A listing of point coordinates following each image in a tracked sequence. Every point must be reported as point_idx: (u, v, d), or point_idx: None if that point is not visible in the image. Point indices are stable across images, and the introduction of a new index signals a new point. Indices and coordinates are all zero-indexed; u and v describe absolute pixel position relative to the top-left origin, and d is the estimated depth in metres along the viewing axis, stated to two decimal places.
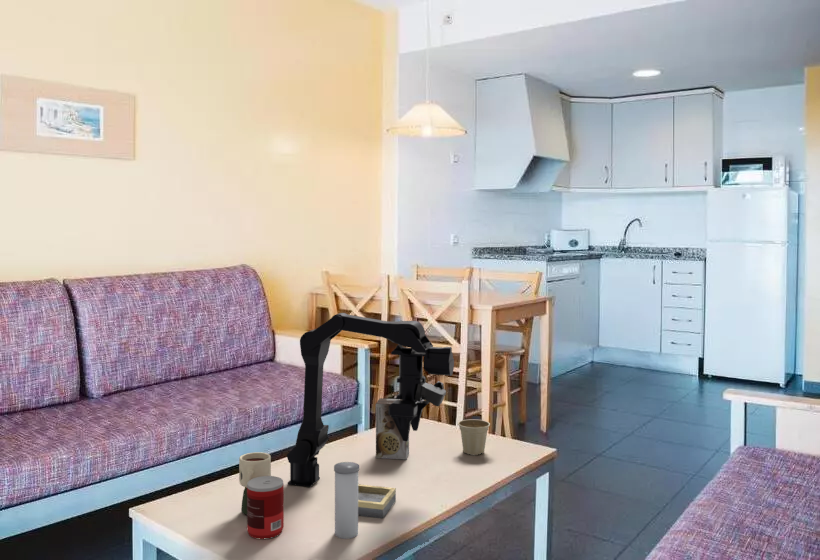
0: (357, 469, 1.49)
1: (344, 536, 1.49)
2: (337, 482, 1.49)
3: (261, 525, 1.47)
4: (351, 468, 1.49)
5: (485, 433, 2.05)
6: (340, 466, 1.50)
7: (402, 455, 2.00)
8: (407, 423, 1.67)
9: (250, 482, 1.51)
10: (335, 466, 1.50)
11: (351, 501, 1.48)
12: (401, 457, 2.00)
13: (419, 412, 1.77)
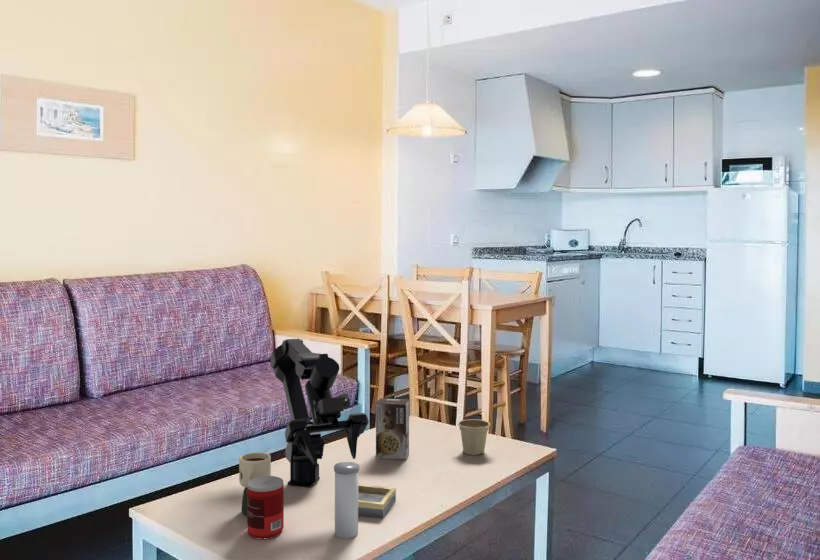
0: (357, 469, 1.49)
1: (344, 536, 1.49)
2: (337, 482, 1.49)
3: (261, 525, 1.47)
4: (351, 468, 1.49)
5: (485, 433, 2.05)
6: (340, 466, 1.50)
7: (402, 455, 2.00)
8: None
9: (250, 482, 1.51)
10: (335, 466, 1.50)
11: (351, 501, 1.48)
12: (401, 457, 2.00)
13: (351, 437, 1.61)
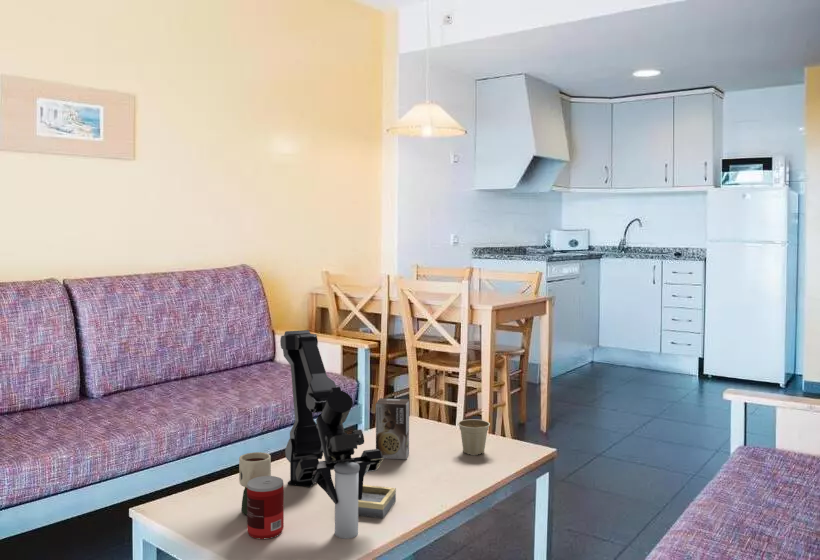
0: (357, 469, 1.49)
1: (344, 536, 1.48)
2: (337, 482, 1.48)
3: (261, 525, 1.47)
4: (351, 468, 1.48)
5: (485, 433, 2.05)
6: (340, 466, 1.50)
7: (402, 455, 2.00)
8: None
9: (250, 482, 1.51)
10: (335, 466, 1.50)
11: (351, 501, 1.48)
12: (401, 457, 2.00)
13: None
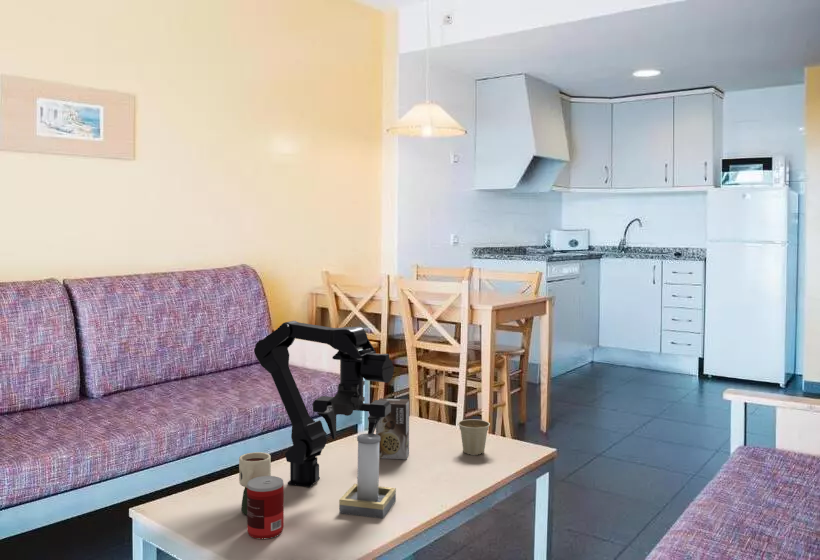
0: None
1: (370, 500, 1.63)
2: (363, 452, 1.62)
3: (262, 525, 1.47)
4: (375, 438, 1.63)
5: (485, 433, 2.05)
6: (364, 437, 1.63)
7: (402, 455, 2.00)
8: None
9: (250, 482, 1.51)
10: (359, 438, 1.63)
11: (376, 467, 1.63)
12: (401, 457, 2.00)
13: None
